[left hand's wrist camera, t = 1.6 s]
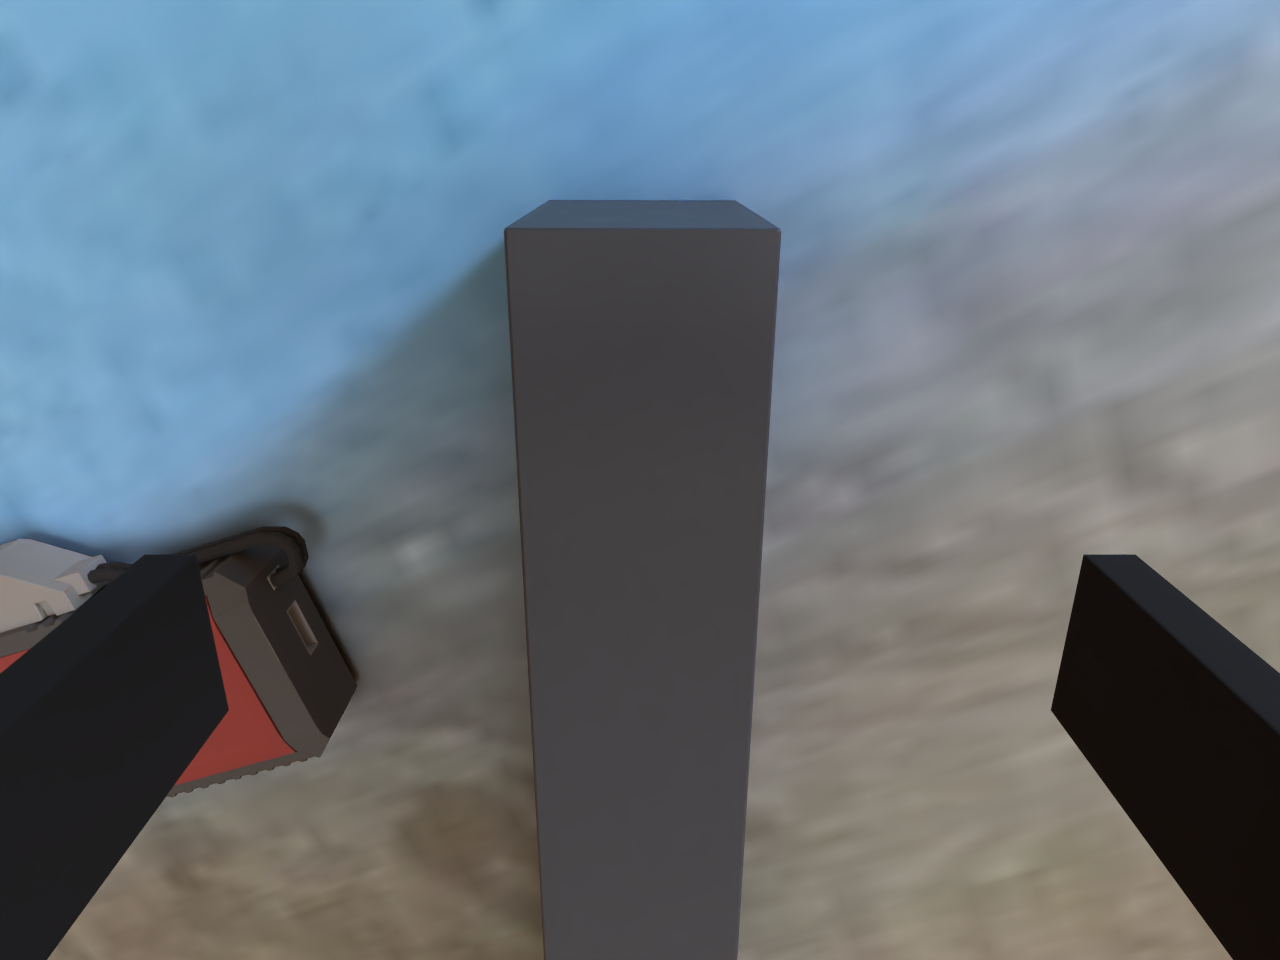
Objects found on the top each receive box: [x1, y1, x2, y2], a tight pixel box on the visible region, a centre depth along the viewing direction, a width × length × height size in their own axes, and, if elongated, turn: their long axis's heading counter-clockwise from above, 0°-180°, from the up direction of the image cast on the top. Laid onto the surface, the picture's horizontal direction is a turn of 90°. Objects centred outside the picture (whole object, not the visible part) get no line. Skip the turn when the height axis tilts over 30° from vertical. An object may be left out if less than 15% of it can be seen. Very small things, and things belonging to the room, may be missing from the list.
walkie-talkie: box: [0, 527, 357, 797], centre depth 25 cm, size 9×4×20 cm
